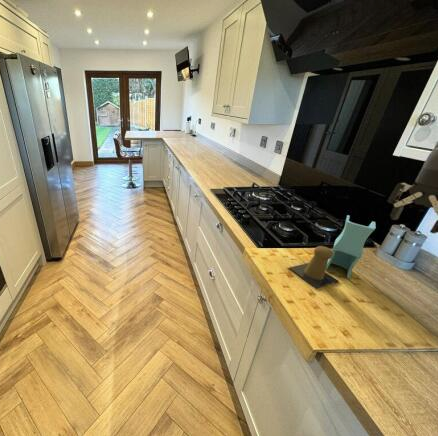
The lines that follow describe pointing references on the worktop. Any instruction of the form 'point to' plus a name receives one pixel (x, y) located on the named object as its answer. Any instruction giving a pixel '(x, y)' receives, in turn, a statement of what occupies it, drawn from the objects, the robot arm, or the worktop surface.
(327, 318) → the worktop surface
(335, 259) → the teal waisted stand
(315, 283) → the slate coaster
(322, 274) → the cork
